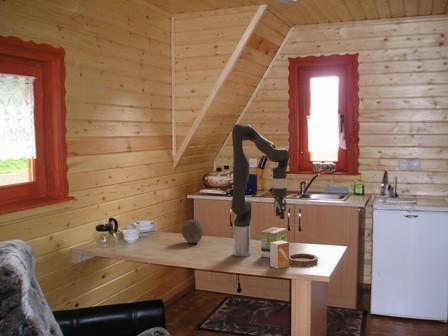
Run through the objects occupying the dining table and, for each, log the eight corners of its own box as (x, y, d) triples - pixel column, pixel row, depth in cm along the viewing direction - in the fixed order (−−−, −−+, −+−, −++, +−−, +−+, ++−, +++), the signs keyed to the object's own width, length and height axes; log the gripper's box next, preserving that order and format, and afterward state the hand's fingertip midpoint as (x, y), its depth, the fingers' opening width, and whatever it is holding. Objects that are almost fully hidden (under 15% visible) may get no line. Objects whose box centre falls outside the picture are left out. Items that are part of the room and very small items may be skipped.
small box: (277, 269, 256) (277, 244, 255) (270, 266, 261) (269, 242, 260) (289, 266, 260) (289, 242, 259) (281, 263, 266) (281, 239, 264)
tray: (292, 267, 259) (292, 261, 258) (284, 259, 274) (284, 254, 274) (321, 265, 261) (321, 260, 261) (311, 257, 277) (311, 252, 277)
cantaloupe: (208, 242, 317) (207, 219, 315) (192, 246, 306) (192, 223, 305) (192, 239, 326) (191, 217, 324) (176, 243, 315) (176, 220, 314)
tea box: (276, 259, 275) (276, 233, 274) (260, 256, 280) (260, 231, 279) (287, 252, 288) (287, 228, 286) (272, 250, 293) (272, 226, 292)
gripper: (269, 185, 264) (269, 215, 265) (276, 188, 250) (276, 220, 251) (282, 184, 265) (283, 214, 266) (290, 188, 251) (290, 219, 252)
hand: (279, 217), depth 259 cm, fingers open, 8 cm apart
